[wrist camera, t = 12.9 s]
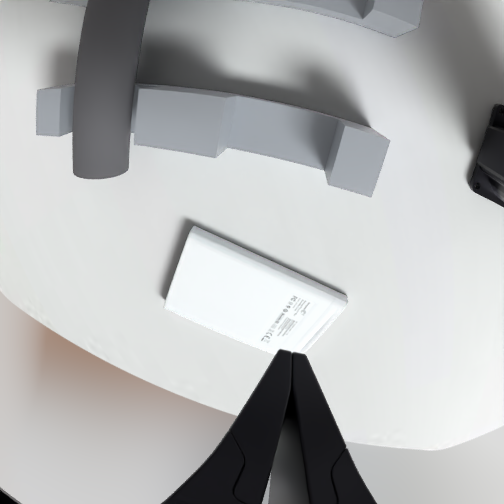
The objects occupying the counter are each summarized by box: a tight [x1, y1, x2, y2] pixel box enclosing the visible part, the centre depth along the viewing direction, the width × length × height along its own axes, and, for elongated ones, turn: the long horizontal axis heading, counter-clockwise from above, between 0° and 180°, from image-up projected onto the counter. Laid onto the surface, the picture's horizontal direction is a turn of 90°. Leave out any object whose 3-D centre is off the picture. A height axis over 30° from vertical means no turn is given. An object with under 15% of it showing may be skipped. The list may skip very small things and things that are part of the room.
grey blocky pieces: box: [36, 0, 423, 197], centre depth 12 cm, size 20×13×4 cm, turn 79°
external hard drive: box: [164, 226, 348, 355], centre depth 23 cm, size 2×8×12 cm
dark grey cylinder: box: [73, 0, 150, 179], centre depth 12 cm, size 4×16×4 cm, turn 170°
